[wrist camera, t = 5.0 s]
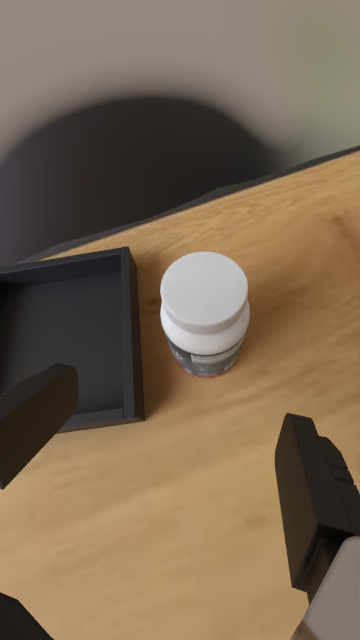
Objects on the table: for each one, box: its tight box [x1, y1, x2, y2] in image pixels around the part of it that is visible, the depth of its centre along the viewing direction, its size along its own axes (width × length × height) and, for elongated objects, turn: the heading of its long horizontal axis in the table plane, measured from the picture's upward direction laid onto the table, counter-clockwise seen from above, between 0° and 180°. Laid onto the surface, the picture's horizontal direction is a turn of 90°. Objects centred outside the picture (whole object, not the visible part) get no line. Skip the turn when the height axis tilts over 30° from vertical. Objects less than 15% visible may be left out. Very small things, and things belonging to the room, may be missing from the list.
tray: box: [0, 247, 145, 434], centre depth 23 cm, size 15×16×3 cm
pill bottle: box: [160, 251, 250, 378], centre depth 18 cm, size 6×6×10 cm
